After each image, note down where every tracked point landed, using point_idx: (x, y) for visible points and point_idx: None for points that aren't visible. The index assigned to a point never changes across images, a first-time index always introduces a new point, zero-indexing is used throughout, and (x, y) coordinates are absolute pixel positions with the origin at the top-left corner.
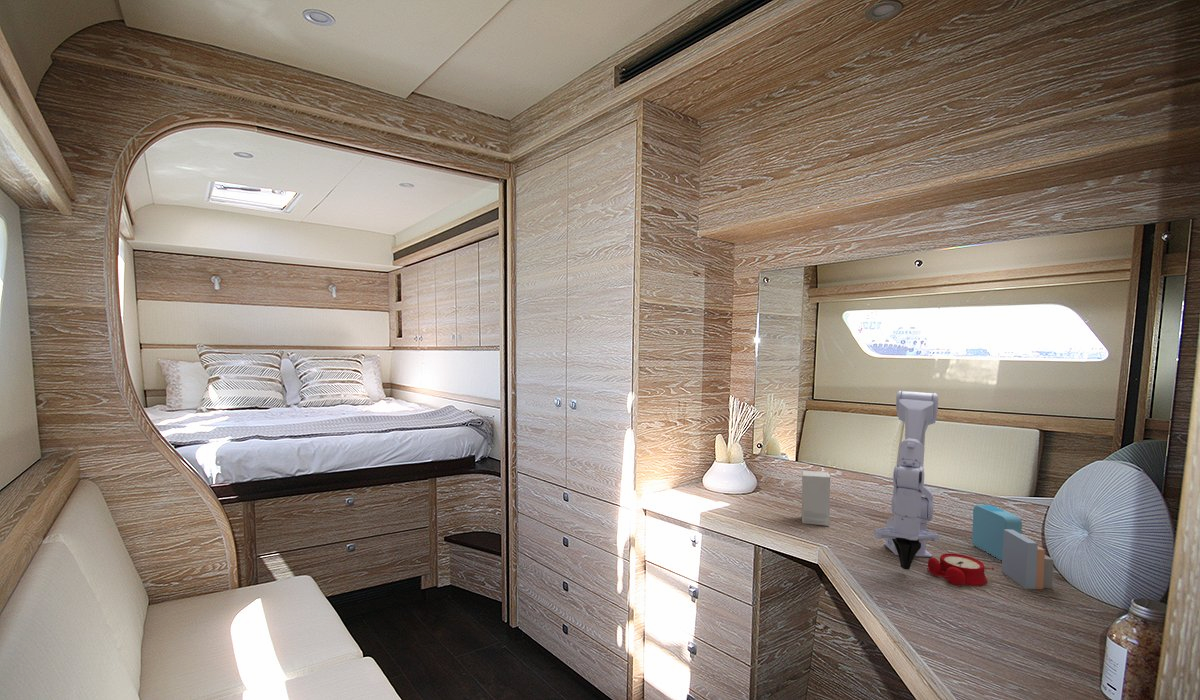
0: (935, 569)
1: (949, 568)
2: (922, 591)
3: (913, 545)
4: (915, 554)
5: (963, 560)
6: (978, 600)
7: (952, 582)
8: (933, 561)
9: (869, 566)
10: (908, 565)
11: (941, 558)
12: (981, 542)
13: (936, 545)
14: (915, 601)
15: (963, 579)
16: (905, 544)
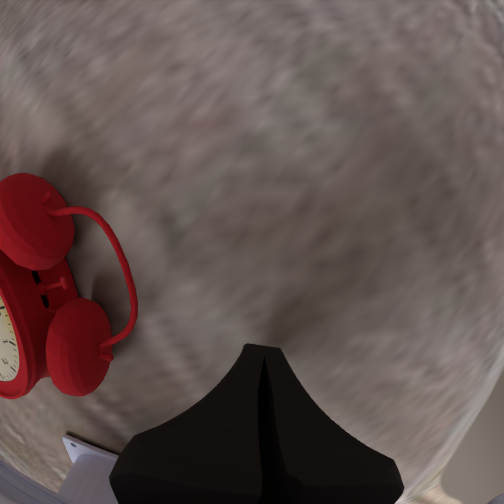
0: (87, 315)
1: (22, 246)
2: (306, 107)
3: (241, 477)
4: (200, 401)
5: None
6: (69, 42)
7: (64, 204)
8: (71, 357)
9: (389, 407)
10: (256, 356)
11: (26, 367)
12: None
13: (44, 466)
14: (411, 23)
15: (15, 174)
16: (344, 491)
